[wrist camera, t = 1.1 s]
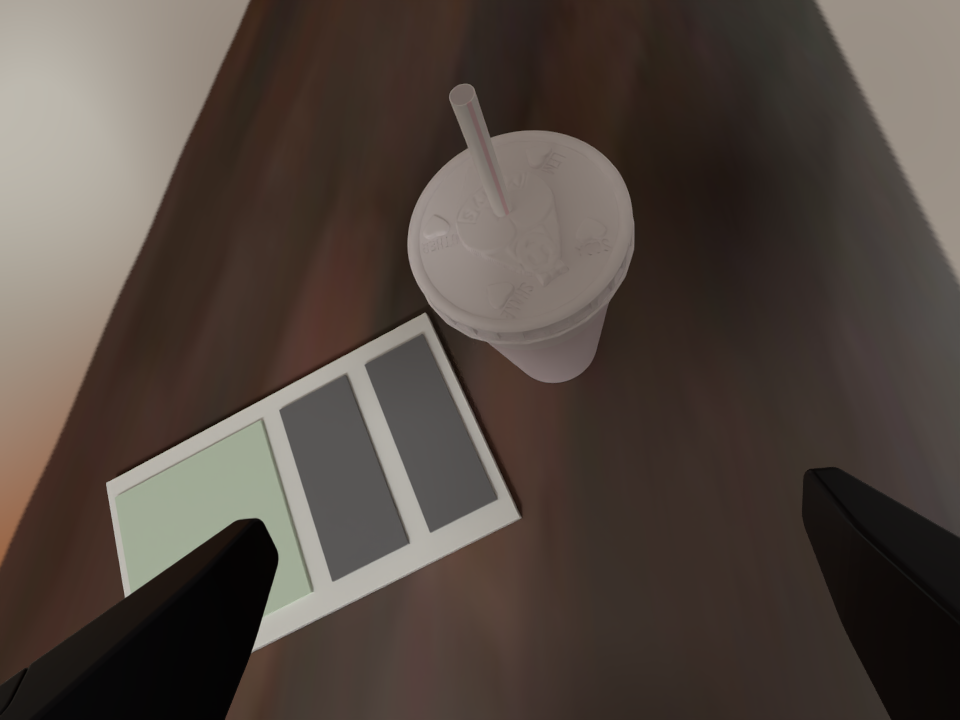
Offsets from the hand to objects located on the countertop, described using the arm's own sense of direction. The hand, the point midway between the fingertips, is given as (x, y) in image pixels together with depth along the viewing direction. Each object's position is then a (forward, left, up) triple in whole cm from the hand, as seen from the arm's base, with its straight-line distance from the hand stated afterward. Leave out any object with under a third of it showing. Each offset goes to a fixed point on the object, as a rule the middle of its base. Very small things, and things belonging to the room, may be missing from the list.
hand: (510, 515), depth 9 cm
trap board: (+6, +10, -13) cm, 18 cm away
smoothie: (+7, -3, -14) cm, 16 cm away
